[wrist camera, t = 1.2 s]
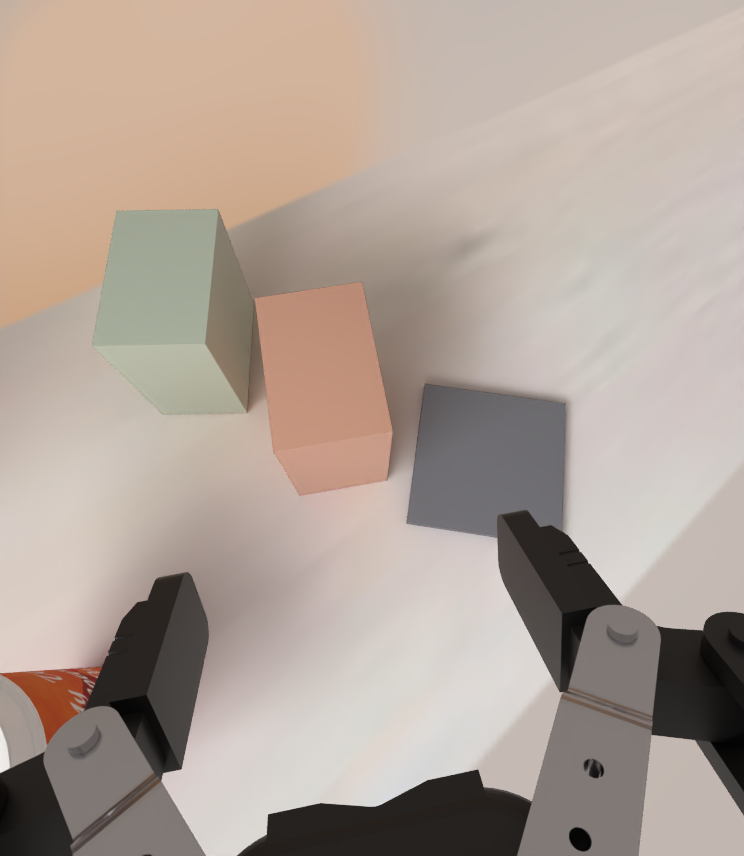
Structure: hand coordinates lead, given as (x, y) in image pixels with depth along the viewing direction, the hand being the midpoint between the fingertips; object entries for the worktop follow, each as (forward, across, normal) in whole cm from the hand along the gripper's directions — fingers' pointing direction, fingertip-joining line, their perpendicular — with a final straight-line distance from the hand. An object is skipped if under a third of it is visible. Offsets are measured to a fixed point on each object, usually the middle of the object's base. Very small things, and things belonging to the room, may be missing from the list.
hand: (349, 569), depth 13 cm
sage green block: (+28, +8, +1) cm, 29 cm away
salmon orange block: (+23, 0, +6) cm, 24 cm away
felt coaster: (+20, -10, +10) cm, 24 cm away
